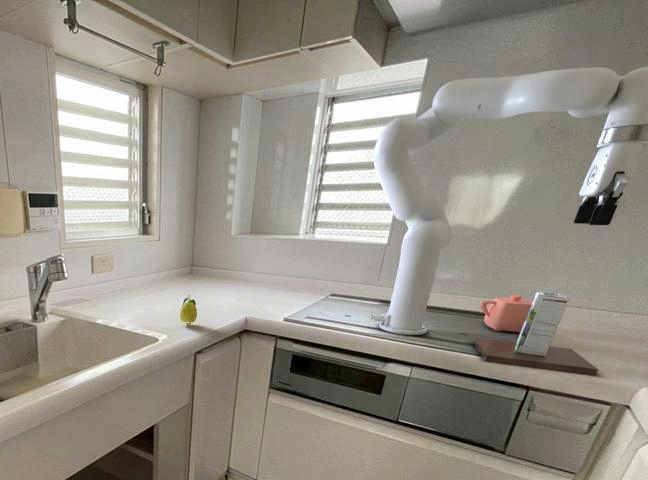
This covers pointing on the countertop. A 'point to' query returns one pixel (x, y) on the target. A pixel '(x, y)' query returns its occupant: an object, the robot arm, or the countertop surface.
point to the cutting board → (534, 357)
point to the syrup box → (541, 323)
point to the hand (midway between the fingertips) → (590, 224)
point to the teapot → (506, 313)
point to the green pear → (188, 311)
